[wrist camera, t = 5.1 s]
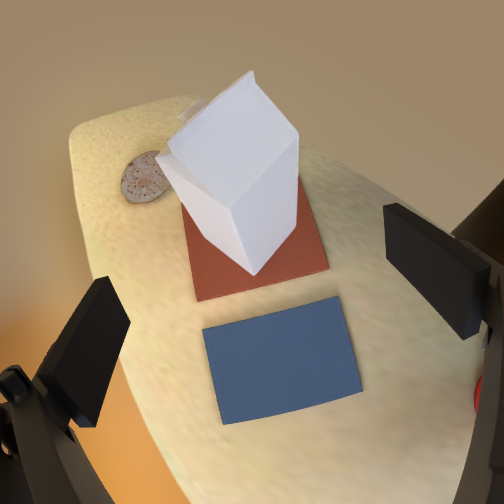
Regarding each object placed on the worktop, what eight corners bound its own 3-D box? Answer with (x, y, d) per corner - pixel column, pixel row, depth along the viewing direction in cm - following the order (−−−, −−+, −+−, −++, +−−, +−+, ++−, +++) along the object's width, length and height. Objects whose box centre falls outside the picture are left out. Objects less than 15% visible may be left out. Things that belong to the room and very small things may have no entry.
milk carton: (296, 226, 34) (300, 90, 16) (254, 277, 33) (213, 172, 15) (246, 191, 36) (211, 55, 18) (204, 238, 35) (130, 120, 17)
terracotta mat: (297, 174, 37) (297, 172, 36) (329, 269, 32) (329, 268, 32) (181, 203, 37) (180, 201, 37) (197, 301, 33) (196, 301, 32)
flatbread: (137, 151, 41) (135, 146, 40) (185, 156, 39) (183, 151, 38) (112, 201, 38) (109, 197, 37) (161, 211, 37) (158, 207, 36)
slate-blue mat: (337, 296, 31) (337, 295, 31) (362, 390, 28) (362, 391, 28) (203, 329, 32) (202, 329, 31) (223, 424, 28) (223, 424, 28)
